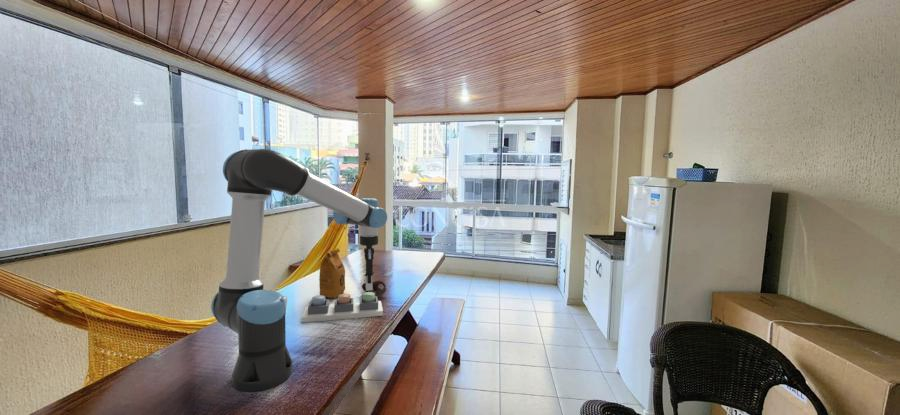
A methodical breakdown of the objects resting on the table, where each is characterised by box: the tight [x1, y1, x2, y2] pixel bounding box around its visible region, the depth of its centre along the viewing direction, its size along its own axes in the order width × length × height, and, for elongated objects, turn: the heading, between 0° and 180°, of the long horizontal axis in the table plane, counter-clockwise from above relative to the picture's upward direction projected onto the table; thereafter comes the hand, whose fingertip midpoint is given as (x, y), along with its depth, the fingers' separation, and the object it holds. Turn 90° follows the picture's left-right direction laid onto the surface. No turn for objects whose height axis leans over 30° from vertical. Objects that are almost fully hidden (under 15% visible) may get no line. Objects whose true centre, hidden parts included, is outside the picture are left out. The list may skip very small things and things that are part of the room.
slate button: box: [311, 294, 326, 306], centre depth 139 cm, size 5×5×3 cm
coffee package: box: [318, 248, 346, 299], centre depth 163 cm, size 10×12×22 cm
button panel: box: [301, 296, 384, 323], centre depth 142 cm, size 31×12×5 cm, turn 106°
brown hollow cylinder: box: [361, 280, 387, 298], centre depth 164 cm, size 12×10×8 cm
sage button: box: [362, 292, 375, 303], centre depth 144 cm, size 5×5×3 cm
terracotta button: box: [337, 293, 352, 304], centre depth 142 cm, size 5×5×3 cm
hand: (369, 289), depth 144 cm, fingers closed
